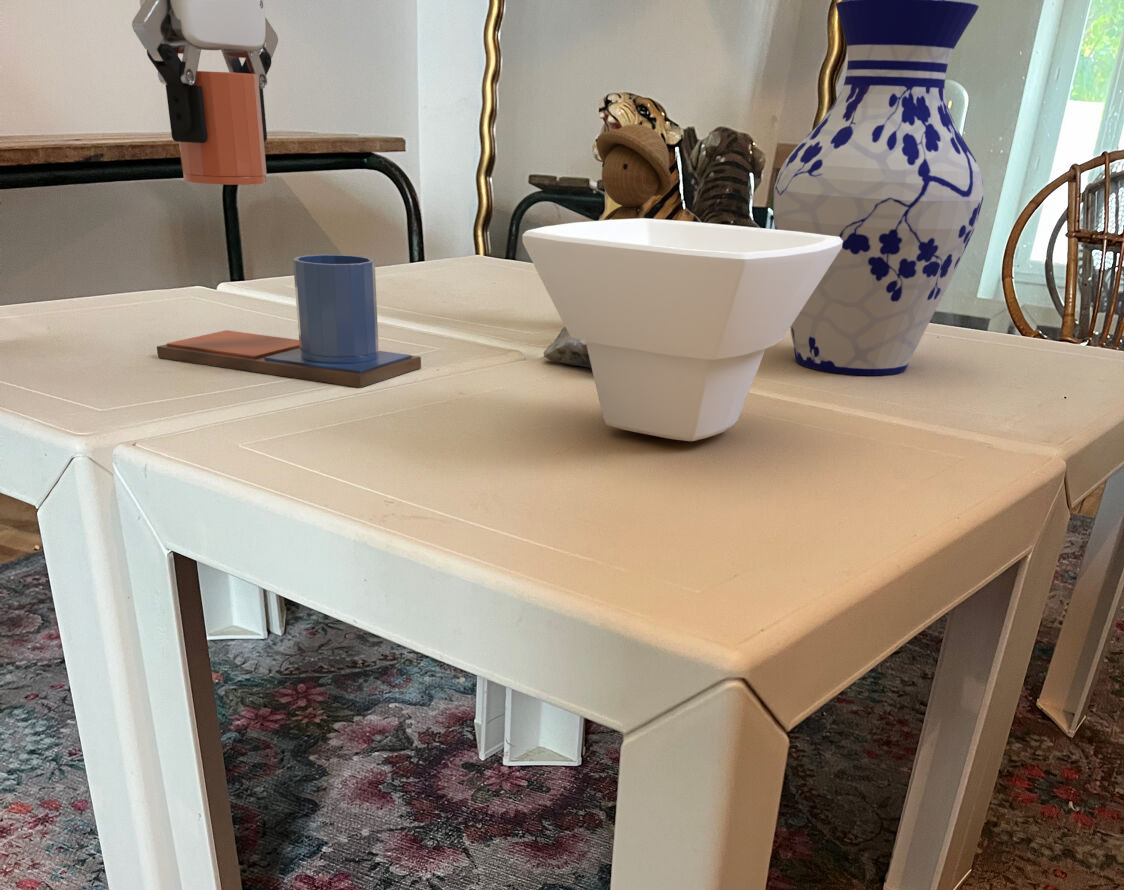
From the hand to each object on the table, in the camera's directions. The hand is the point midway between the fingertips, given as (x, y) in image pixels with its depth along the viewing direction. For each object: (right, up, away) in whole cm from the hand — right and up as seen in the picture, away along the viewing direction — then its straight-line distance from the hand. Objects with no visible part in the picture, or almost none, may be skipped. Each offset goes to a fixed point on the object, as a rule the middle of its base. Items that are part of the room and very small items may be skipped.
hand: (221, 139), depth 94 cm
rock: (+32, -16, +11) cm, 38 cm away
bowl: (+37, -27, -8) cm, 47 cm away
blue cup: (+9, -16, +6) cm, 19 cm away
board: (+4, -16, +9) cm, 18 cm away
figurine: (+35, -5, +30) cm, 47 cm away
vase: (+57, -13, +18) cm, 62 cm away
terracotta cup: (0, -3, +2) cm, 3 cm away
